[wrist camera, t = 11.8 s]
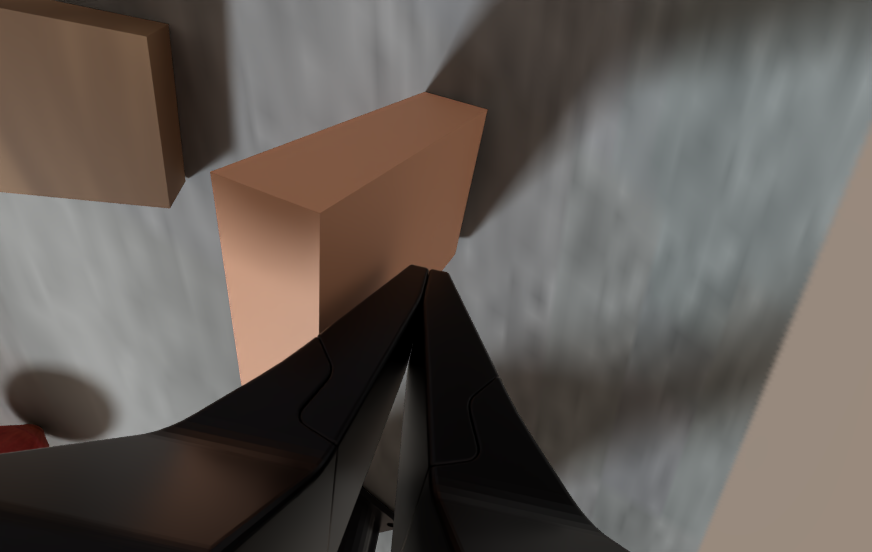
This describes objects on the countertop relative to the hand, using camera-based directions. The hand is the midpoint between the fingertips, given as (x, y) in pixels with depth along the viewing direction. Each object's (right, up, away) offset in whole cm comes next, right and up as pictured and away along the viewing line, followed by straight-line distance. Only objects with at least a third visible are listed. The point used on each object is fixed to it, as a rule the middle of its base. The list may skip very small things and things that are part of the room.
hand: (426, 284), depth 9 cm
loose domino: (0, +3, +5) cm, 6 cm away
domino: (-8, +5, +4) cm, 10 cm away
